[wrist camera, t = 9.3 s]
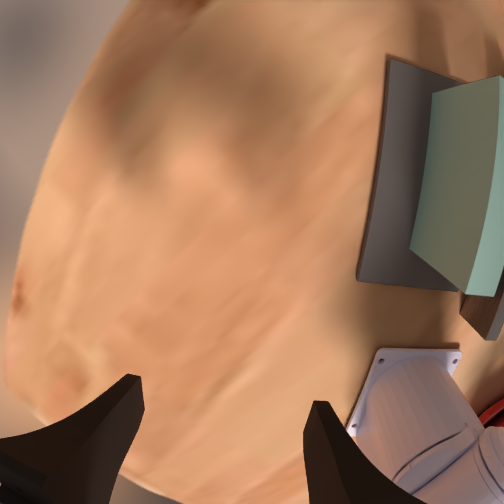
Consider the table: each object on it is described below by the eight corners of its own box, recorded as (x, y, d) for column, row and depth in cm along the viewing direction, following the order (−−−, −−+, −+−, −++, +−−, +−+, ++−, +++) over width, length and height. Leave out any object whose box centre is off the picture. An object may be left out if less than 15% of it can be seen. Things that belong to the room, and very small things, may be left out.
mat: (454, 288, 20) (457, 291, 19) (355, 277, 20) (357, 281, 20) (487, 97, 16) (491, 96, 15) (387, 61, 16) (390, 58, 15)
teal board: (457, 102, 16) (527, 91, 9) (434, 252, 19) (493, 296, 12) (432, 93, 16) (499, 75, 9) (408, 248, 19) (465, 293, 12)
